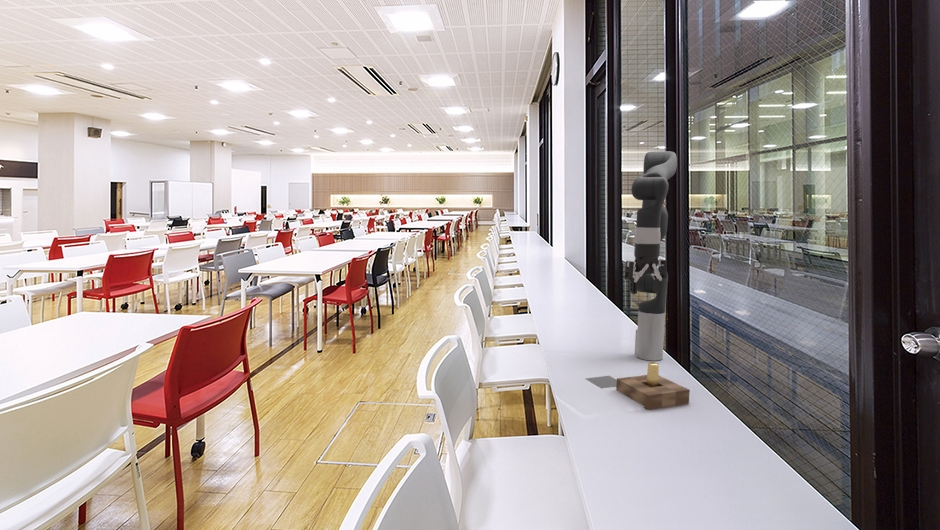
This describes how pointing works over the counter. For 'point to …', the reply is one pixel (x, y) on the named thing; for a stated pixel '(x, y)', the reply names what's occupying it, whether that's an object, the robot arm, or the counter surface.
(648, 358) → the robot arm
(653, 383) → the brass pin
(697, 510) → the counter surface
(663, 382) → the walnut block
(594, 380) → the rubber mat
